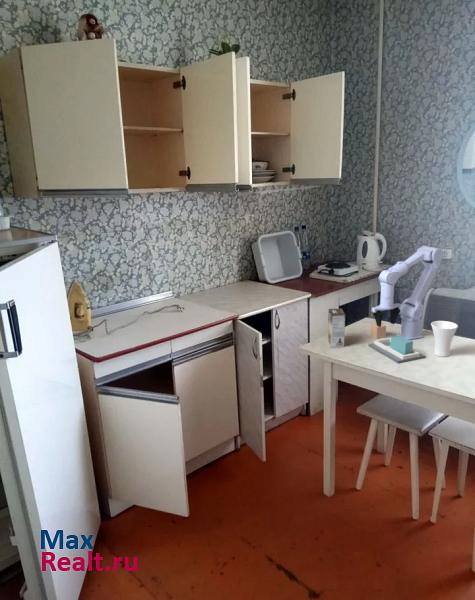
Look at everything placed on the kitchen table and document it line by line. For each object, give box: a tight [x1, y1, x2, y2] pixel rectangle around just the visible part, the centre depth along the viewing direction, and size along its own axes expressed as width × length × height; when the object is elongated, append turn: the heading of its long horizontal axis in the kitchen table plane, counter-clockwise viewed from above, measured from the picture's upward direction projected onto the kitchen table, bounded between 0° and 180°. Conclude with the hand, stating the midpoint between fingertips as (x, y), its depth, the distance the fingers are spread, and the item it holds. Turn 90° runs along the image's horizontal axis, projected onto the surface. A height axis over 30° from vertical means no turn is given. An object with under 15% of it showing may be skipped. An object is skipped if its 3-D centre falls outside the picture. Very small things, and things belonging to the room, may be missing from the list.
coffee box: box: [327, 308, 346, 348], centre depth 215 cm, size 9×6×16 cm
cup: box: [430, 320, 459, 358], centre depth 199 cm, size 10×10×14 cm
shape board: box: [368, 337, 427, 364], centre depth 205 cm, size 14×21×2 cm, turn 19°
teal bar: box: [390, 335, 414, 355], centre depth 201 cm, size 4×8×6 cm, turn 30°
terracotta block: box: [369, 322, 387, 340], centre depth 223 cm, size 5×5×6 cm
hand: (385, 324), depth 215 cm, fingers open, 7 cm apart
